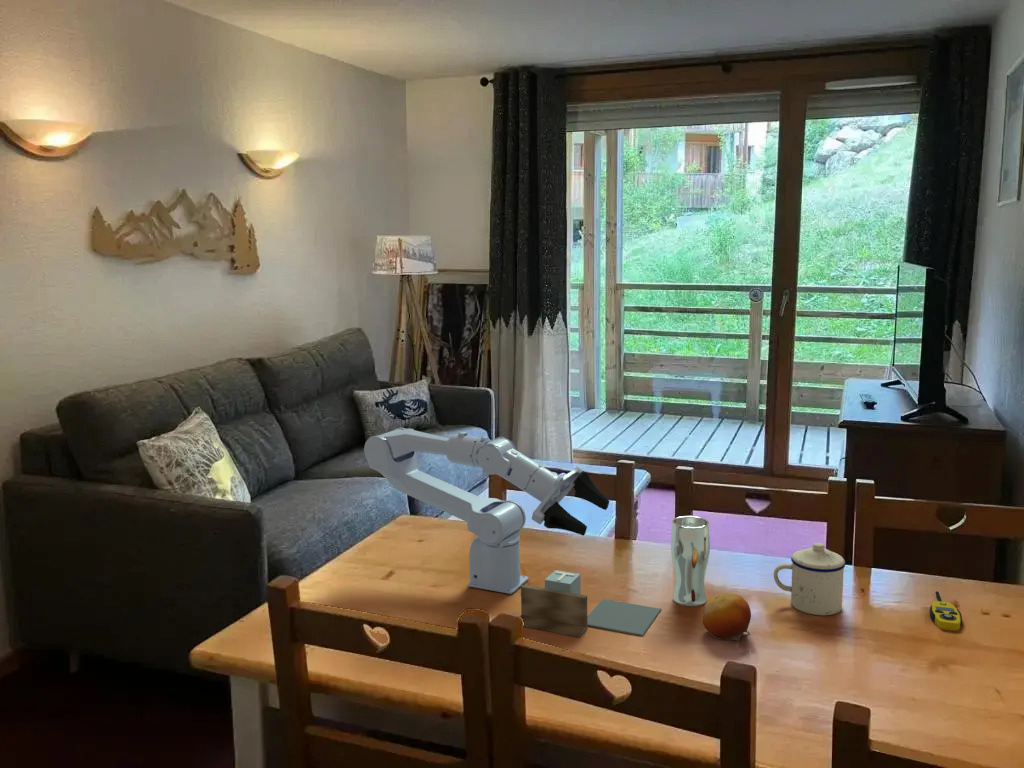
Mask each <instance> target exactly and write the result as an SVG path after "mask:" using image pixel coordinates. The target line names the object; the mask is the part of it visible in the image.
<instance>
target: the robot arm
mask: <svg viewBox="0 0 1024 768" xmlns="http://www.w3.org/2000/svg"><path fill="white" fill-rule="evenodd" d="M363 448H364V449H363V452H364V456H365V459H366V462H367V464H368V466H369V468H370V469H372V470H374V471H377V472H378V473H379V474H381V475H382V476H383V477H384V478H385V480H386V481H388V482H389V484H390V485H391V486H392V487H393V488H394V489H396V491H397V492H400V493H402V494H405V495H407V496H410V497H412V498H414V499H416V500H418V501H420V502H423V503H425V504H427V505H429V506H432V507H433V508H435V509H438V510H440V511H442V512H445V513H447V514H448V515H451V516H454V517H455V518H457V519H459V520H461V521H464V522H466V523H467V531H469V532H470V533H472V534H474V535H475V536H476V537H475V538H473V540H472V541H471V544H470V547H469V553H468V554H469V555H468V559H469V583H468V585H467V586H468V587H470V588H474V589H475V588H476V589H480V590H482V589H483V590H486V591H493V592H498V593H503V594H508V595H509V594H510V595H512V594H513V593H515V592H516V591H517V590H518V589H519V588H521V586H522V585H525V583H527V581H528V580H529V576H526V575H521V545H520V544H521V543H520V542H521V537H520V536H521V530H522V529H523V527H524V526H525V525H526V520H527V519H526V517H527V515H526V512H525V509H524V508H523V507H522V505H520V504H519V503H518V502H517V501H515V500H509V499H508V500H501V499H499V498H496V497H481V496H478V495H476V494H473V493H471V492H469V491H466V490H465V489H462V488H459V486H458V487H457V486H455V485H454V484H451V483H450V482H447V481H444V480H442V479H440V478H437V477H435V476H432V475H430V474H428V473H426V472H423V471H421V470H419V469H418V467H419V466H418V465H419V464H418V456H417V453H425V454H433V455H439V456H440V455H441V456H446V457H447V459H448V460H449V462H450V463H452V464H456V465H463V466H469V467H473V468H479V469H480V468H481V469H482V473H483V474H485V475H488V476H489V475H490V476H491V475H497V476H499V477H500V478H503V479H505V480H506V481H507V482H509V483H510V484H512V485H514V486H516V487H517V488H519V490H521V491H523V492H525V493H526V494H528V495H530V496H531V497H533V498H534V499H536V500H537V501H539V502H540V503H539V504H538V506H537V507H536V509H534V510H533V512H532V515H531V520H532V521H533V522H535V523H537V524H538V525H541V524H543V526H544V527H545V528H547V529H555V530H556V529H558V530H564V531H568V532H571V533H574V534H577V535H581V536H583V537H584V536H585V535H586V532H587V529H588V526H587V525H586V524H585V523H583V521H580V520H579V519H578V518H577V517H575V516H573V515H572V514H570V512H568V511H567V510H566V509H565V508H564V507H563V506H562V505H561V504H560V502H561V501H562V500H563V499H564V498H565V497H566V496H567V495H568V494H569V492H571V491H572V489H574V491H575V493H574V498H578V499H581V500H584V501H587V502H588V503H591V504H593V505H595V506H597V507H598V508H600V509H602V510H605V511H607V509H608V508H609V504H610V500H609V499H608V498H607V497H606V496H605V495H604V494H603V493H602V492H601V491H600V490H599V489H598V488H597V486H596V485H595V484H594V482H593V481H592V478H591V477H590V474H588V472H586V471H585V470H584V469H582V468H580V467H579V466H575V468H573V469H572V470H570V471H569V472H568V473H566V474H565V475H564V476H561V475H558V474H556V473H554V472H553V471H551V470H549V469H548V468H546V467H544V466H543V465H541V464H540V463H538V462H536V461H535V460H533V459H532V458H530V457H528V456H526V455H525V454H523V453H521V452H520V451H518V450H517V449H516V446H515V444H514V442H512V441H511V440H510V439H508V438H506V437H503V436H498V437H496V438H493V440H492V439H490V438H489V436H486V435H484V436H481V437H479V436H473V435H468V432H467V431H461V432H458V433H455V434H453V435H452V436H451V437H450V438H449V437H445V436H441V435H435V434H432V433H428V432H423V431H419V430H415V429H413V428H404V427H397V428H395V429H393V430H390V431H388V432H385V433H382V434H379V435H373V436H370V437H369V438H368V439H367V440H366V441H365V444H364V447H363ZM543 522H544V523H543Z"/></svg>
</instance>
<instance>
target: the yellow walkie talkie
mask: <svg viewBox="0 0 1024 768" xmlns="http://www.w3.org/2000/svg"><path fill="white" fill-rule="evenodd" d="M935 596H936V599H937V601H933V602H932V604H931V605H930V607H929V618H930V620H931V621H932V623H934V624H935V626H936V627H938V628H939V629H941V630H946V631H955V632H956V631H959V630H960V629H961V626H962V621H963V617H962V613H961V611H960V610H959V608H957V607H956V606H955V605H953V604H952V603H951V602H947V601H943V600H942V598H941V595H940V592H939V591H937V590H936V591H935Z"/></svg>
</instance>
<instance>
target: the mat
mask: <svg viewBox="0 0 1024 768" xmlns="http://www.w3.org/2000/svg"><path fill="white" fill-rule="evenodd" d="M661 611H662V608H659V607H658V608H657V607H652V606H646V605H641V604H636V603H630V602H624V601H618V600H613V599H606V598H602V599H601V600H600V602H599V603H598V604H597V605H596V606H595V607H594V608H593V609H592V611H591V612H590V613H589V614H587V627H591V628H597V629H601V630H602V629H603V630H607V631H612V632H617V633H624V634H628V635H634V636H639V637H644V635H645V634H646V632H647V631H648V630H649V628H650V627H651V625H652V624H653V623H652V622H654V621H655V620H656V618H657V617H658V615H660V613H661Z"/></svg>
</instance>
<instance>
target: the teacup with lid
mask: <svg viewBox="0 0 1024 768" xmlns="http://www.w3.org/2000/svg"><path fill="white" fill-rule="evenodd" d="M825 547H826V546H825V544H824V543H821V542H814V543H813V544H812V546H811V547H808V548H802V549H799V550H797V551H795V552H794V553H793V554H792V555H791V557H790V561H791V563H792V564H791V563H781V564H778V565H777V566H776V567H775V568H774V571H773V579H774V582H775V584H776V585H777V587H778V588H779V589H781V590H783V591H786V592H790V593H791V594H790V603H791V605H792V606H793V607H794V608H795V609H796V610H798V611H800V612H802V613H805V614H809V615H814V616H831V615H835V614H838V613H839V612H840V611H841V610H842V609H843V587H844V569H845V567H846V561H845V559H844V558H843V556H842V555H840V554H838V553H836V552H834V551H831V550H830V549H827V548H825ZM781 570H792V571H791V586H789V585H785V584H784V583H782V581H780V579H779V575H778V573H779V571H781Z"/></svg>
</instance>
